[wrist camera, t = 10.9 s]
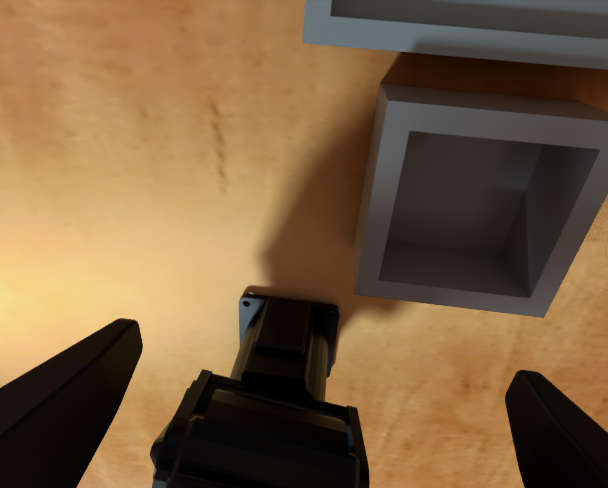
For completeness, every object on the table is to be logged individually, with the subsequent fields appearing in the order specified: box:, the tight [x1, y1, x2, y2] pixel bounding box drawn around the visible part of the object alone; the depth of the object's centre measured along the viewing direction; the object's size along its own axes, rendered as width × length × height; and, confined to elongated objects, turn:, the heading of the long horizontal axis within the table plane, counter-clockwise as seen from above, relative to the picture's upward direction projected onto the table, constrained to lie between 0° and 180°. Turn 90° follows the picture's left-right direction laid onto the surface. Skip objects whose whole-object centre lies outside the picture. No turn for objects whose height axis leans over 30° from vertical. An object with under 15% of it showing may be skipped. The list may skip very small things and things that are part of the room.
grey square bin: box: [353, 83, 608, 318], centre depth 18 cm, size 9×9×4 cm
